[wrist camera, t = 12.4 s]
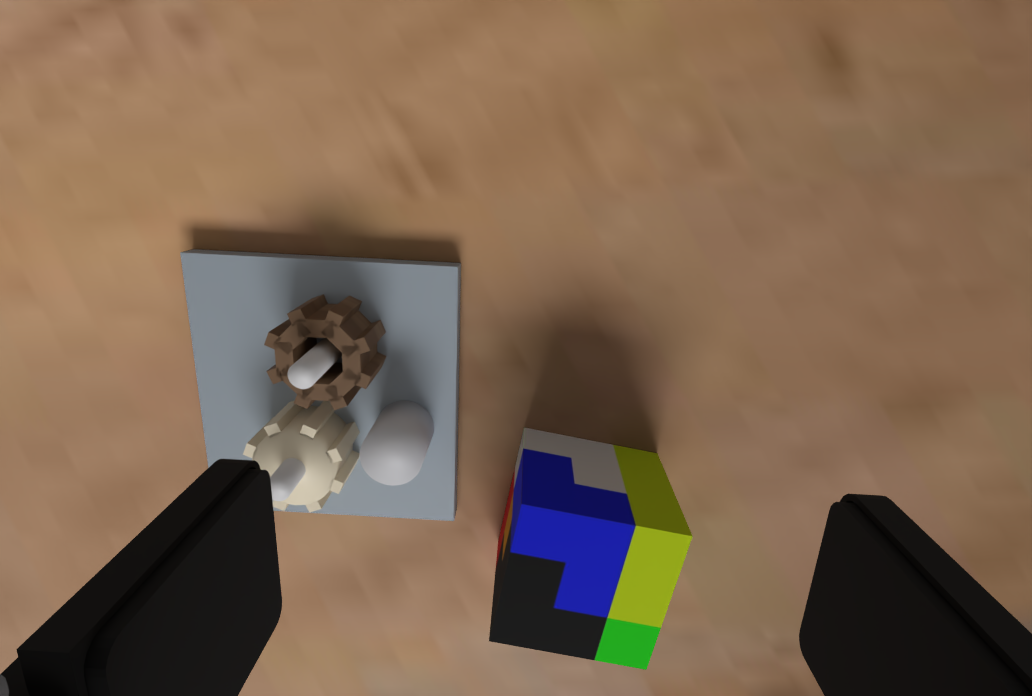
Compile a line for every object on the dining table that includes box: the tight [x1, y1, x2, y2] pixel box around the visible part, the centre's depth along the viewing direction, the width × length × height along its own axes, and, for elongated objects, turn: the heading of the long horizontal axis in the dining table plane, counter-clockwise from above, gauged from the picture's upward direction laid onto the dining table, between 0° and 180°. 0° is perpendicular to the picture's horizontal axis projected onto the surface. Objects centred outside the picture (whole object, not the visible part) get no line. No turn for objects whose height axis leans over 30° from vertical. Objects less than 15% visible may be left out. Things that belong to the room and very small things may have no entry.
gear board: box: [180, 249, 461, 521], centre depth 38 cm, size 19×18×8 cm
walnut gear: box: [264, 294, 387, 410], centre depth 37 cm, size 6×6×4 cm
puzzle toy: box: [489, 428, 692, 669], centre depth 39 cm, size 10×10×10 cm
